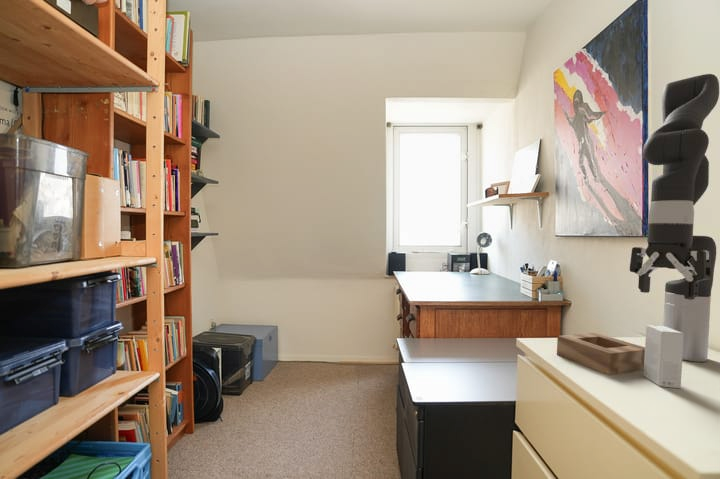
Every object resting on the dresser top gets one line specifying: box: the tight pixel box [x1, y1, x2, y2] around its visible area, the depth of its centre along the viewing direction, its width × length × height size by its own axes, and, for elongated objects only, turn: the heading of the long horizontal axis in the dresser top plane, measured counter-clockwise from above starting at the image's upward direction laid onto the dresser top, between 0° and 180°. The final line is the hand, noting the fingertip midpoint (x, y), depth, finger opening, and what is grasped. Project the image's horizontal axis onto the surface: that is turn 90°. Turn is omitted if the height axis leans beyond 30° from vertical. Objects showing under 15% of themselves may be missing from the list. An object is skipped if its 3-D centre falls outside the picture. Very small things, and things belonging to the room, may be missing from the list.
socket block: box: [556, 332, 645, 376], centre depth 90 cm, size 14×14×5 cm
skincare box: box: [643, 324, 684, 389], centre depth 78 cm, size 6×4×12 cm
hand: (665, 295), depth 78 cm, fingers open, 8 cm apart
